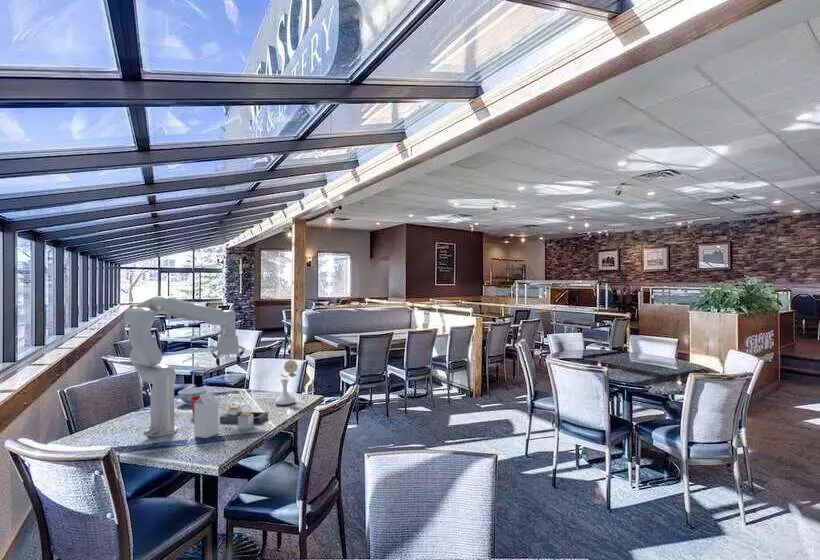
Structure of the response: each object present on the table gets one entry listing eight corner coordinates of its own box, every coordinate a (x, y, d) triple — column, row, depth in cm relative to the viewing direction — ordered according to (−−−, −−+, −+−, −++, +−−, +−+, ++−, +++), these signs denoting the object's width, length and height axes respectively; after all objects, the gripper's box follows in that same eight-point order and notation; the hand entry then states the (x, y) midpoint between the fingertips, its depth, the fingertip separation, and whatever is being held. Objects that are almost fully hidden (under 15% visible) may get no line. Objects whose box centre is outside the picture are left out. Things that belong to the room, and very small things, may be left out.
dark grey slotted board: (259, 424, 206) (259, 418, 206) (219, 422, 209) (219, 416, 209) (268, 418, 215) (268, 412, 215) (230, 417, 218) (229, 411, 218)
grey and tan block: (248, 429, 198) (247, 414, 198) (238, 429, 199) (238, 414, 199) (253, 426, 203) (253, 411, 203) (243, 425, 204) (243, 411, 204)
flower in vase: (273, 407, 234) (273, 362, 235) (275, 401, 246) (274, 359, 246) (298, 405, 238) (297, 361, 238) (298, 400, 249) (298, 357, 249)
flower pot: (193, 420, 214) (192, 401, 214) (188, 415, 223) (188, 396, 223) (215, 415, 221) (215, 397, 221) (209, 411, 229) (209, 393, 230)
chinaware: (174, 404, 245) (174, 390, 245) (200, 398, 256) (200, 385, 256) (184, 408, 235) (184, 395, 235) (211, 402, 246) (211, 389, 246)
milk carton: (194, 436, 190) (193, 394, 190) (207, 431, 197) (206, 391, 197) (206, 438, 188) (205, 396, 188) (218, 433, 194) (218, 392, 194)
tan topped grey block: (236, 422, 210) (236, 408, 210) (227, 421, 211) (227, 407, 211) (241, 419, 215) (241, 405, 215) (232, 418, 216) (232, 405, 216)
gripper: (211, 334, 218) (211, 367, 218) (246, 332, 227) (246, 364, 227) (209, 333, 225) (209, 365, 224) (243, 331, 234) (244, 362, 233)
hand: (228, 365), depth 226 cm, fingers open, 9 cm apart
